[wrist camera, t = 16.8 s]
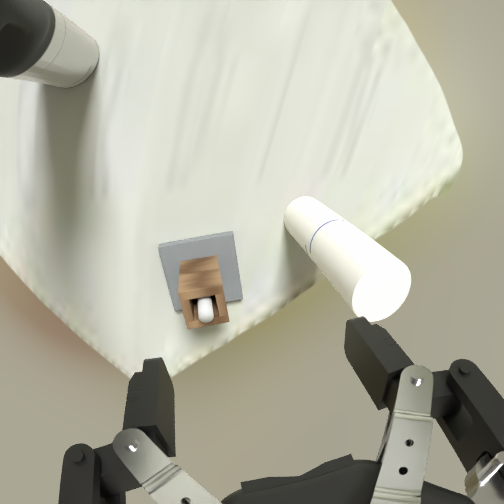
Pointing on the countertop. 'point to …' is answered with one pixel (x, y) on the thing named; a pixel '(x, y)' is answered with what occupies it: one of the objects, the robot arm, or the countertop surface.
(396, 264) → the cylindrical container
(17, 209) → the countertop surface
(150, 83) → the countertop surface
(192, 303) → the collar
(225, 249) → the post stand
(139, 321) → the countertop surface
